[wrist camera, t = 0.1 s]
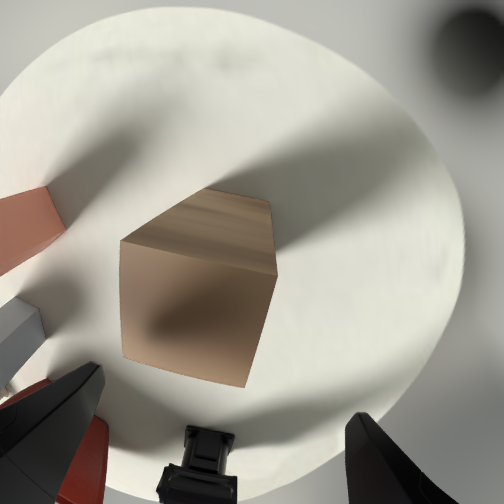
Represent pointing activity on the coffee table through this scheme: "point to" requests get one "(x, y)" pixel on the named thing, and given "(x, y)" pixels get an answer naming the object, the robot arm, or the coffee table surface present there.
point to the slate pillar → (18, 337)
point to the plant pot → (81, 460)
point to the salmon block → (26, 226)
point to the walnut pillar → (199, 286)
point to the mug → (3, 393)
